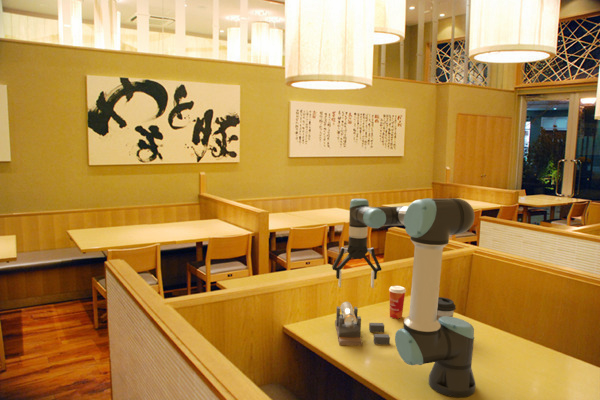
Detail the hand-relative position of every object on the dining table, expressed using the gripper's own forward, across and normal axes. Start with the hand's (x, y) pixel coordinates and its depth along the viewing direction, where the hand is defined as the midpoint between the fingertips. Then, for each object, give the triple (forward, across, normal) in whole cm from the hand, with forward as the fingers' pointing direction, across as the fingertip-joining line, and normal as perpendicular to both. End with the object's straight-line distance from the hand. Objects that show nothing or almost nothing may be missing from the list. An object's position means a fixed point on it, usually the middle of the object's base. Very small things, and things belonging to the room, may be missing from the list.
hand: (355, 286), depth 199 cm
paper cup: (+21, -23, -22) cm, 38 cm away
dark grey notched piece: (+21, +2, -2) cm, 22 cm away
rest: (+21, -10, 0) cm, 24 cm away
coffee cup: (+22, -38, -3) cm, 43 cm away
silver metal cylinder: (+15, +2, -2) cm, 16 cm away
